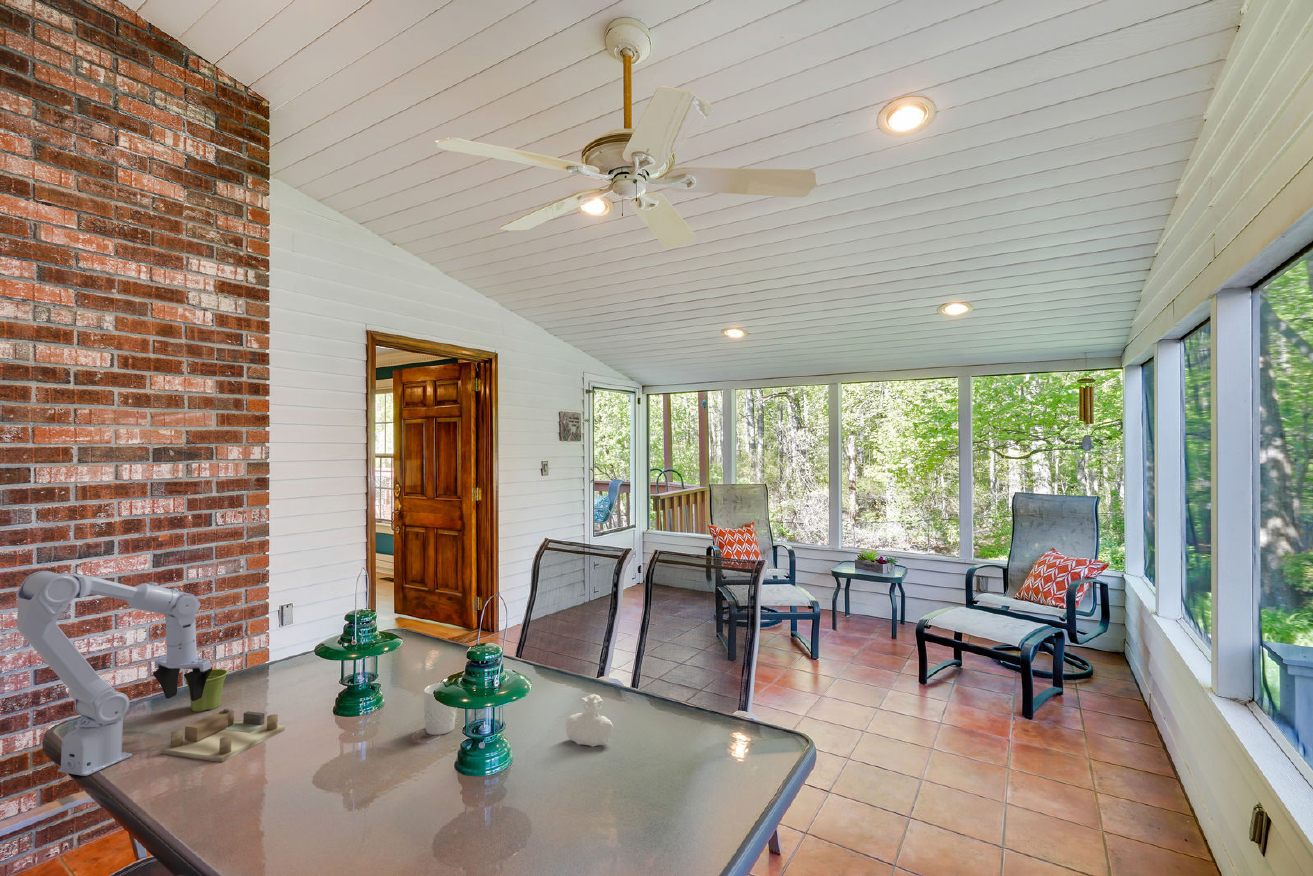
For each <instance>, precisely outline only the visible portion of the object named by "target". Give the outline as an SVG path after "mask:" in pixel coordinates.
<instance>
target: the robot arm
mask: <svg viewBox="0 0 1313 876" xmlns="http://www.w3.org/2000/svg"><path fill="white" fill-rule="evenodd" d="M89 595H94V596H101V597H106V598H111V599H116V600H117V599H118V600H122V601H123V600H124V601H126V603H127V604H128V606H129V607H130V608H131V609H135V610H138V611H139V610H140V611H143V612H149V613H155V614H158V615H163V616H165V641H166V642H165V643H166V645H165V646H166V656H161V657H159V658H157V659H154V668H155V669H157V670H155V671H153V672H152V676H154V677H153V678H155V679H156V680H157V681H158V683H159V685H160V687H161V689H162V691H163V694H164V697H165V699H170V698H171V699H172V698H173V697H175V696H177V695H178V680H179V674H180V671H181V669H184V670H191V671H188V672H187V673H184V674H183V677H184V680H185V679H186V680H187V682H188V685H189V688H188V691H189V690H190V695H189V698H190V697H191V700H192V701H196V700H198V699H200V698H202V694H203V690H204V686H205V683H206V680H207V678H208V676H209V674H210V673H211V671H212V669H213V667H212V666H211V664H212V663H211V660H207V659H204V658H202V657H201V654H200V653H198V651H197V649H198V648H197V628H196V627H197V626H196V614H197V612H198V611H199V610H200V607H201V602H200V601H199V600H198V597H196V595H195V594H193V593H189V592H184V591H179V588H175V587H171V588H166V587H163V586H159V583H157V582H154V581H153V582H152V581H149V582H148V583H145V582H144V583H139V584H137V585H135V586H131V585H127V584H122V583H120V582H115V581H111V580H107V579H104V578H99V577H95V576H91V575H85V574H75V573H69V572H67V573H66V572H59V573H58V572H54V571H50V570H40V571H36V572H33V573H30V574H29V575H28V576H27V577H25V578H24V580H23V581H22V583H21V585H20V586H19V588H18V589H17V592H16V593H15V596H16V601H17V614H16V615H17V618H16V619H17V620H16V628H17V630H18V631H19V633H20V634H21V635H22V636H23V637H24V639H25V640H26V641H27V642H28V643H29V645H31V647H32V648H33V649H34V650H35V652H36V653H37V654H38V655H39V656H40V658H41V659H43V661H44V662H45V663H46V664H47V665H48V666H49V668H50V669H51V670H52V672H54V673H55V674H56V676H57V677H58V678H59V679H60V681H61V682H62V683H63V684H64V685H65V686H66V687H67V688H68V690H69V691H70V697H71V698H72V700H73V701H74V710H75V712H76V713H77V714H78V715H80V718H79V721H78V726H77V727H76V728H75V729H73V730H72V731H69V732H68V733H66V734H65V735H64V736H63V738H62V741H61V750H60V751H61V752H60V753H61V756H60V768H59V769H57V772H58V773H63V774H68V775H69V774H70V775H75V776H76V775H77V776H81V777H87V776H89V775H91V774H93V773H97V772H98V771H100V770H103V769H106V768H108V767H110V766H112V765H114V764H116V763H119V762H121V761H124V760H126V759H127V758H128V759H129V758H130V757H132V756H133V753H130V752H124V751H122V750H123V734H124V733H123V730H124V725H123V724H124V716H125V714H126V713H127V712H128V710H129V707H130V699H129V697H128V695H127V694H125V693H123V692H121V691H117V690H116V689H115V688H114V687H113V686H111V685H110V684H109V683H108V682H106V681H105V680H104V679H103V678H101V677H100V675H99V674H98V673H97V672H96V670H95V669H94V668H93V667H92V665H91V664H90V663H89V661H87V660H86V658H85V657H84V656H83V654H82V653H81V651H79V650H78V648H76V646H75V645H74V644H73V642H72V641H71V640H70V639H69V638H68V636H67V635H66V634H65V633H64V632H63V631H62V630H63V629H61V628H60V627H59V625H58V624H57V621H58V619H59V617H60V615H61V613H62V612H63V611H64V610H65V609H66V608H67V607H68V606H69V604H70V603H71V602H73V600H75V598H78V599H82V598H85V597H86V596H89ZM187 682H186V683H187Z"/></svg>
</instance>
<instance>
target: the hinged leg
mask: <svg viewBox="0 0 1313 876" xmlns="http://www.w3.org/2000/svg"><path fill="white" fill-rule="evenodd" d="M234 720H235V710H234V709H230V708H224V709H223V710H221V711H218V712H216V713H213V714H211V715H208V716H206V717H203V718H202V719H199V720H197V721H195V722H192V723H190V724H188V725H185V727H184V738H185V740H192V741H198V740H200V739H203V738H205V737H207V736H209V735H211V734H214V733H216V732H218V731H220V730H222V729H224V728H227V727H228V726H230V725H232V724H233V723H234Z"/></svg>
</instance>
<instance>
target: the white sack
mask: <svg viewBox="0 0 1313 876" xmlns="http://www.w3.org/2000/svg"><path fill="white" fill-rule="evenodd" d="M580 701H581V704H582V708H583V709H584V713H582V712H578V713H575V714H571V715H570V716H569V717H567V719H566V722H565V733H566V737H567V739H568V740H570V741H572V742H575V743H576V744H577V745H582V746H583V745H585V746H590V747H593V748H594V747H596V746H597V747H598V746H604V745H607V744H608V742H609V740H610V738H611V735H612V733H613V730H614V725H613V723H612V721H611V720H610V719H608V717H606V716H604V715H600V712H599V709H600V710H601V709H602V705H603V704H604V702H605V701H604V700H603V699H602V698H601V696H600V695H598V694H596V693H593V694H589V695H587V696H585V697H580Z"/></svg>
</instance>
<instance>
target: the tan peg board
mask: <svg viewBox="0 0 1313 876" xmlns="http://www.w3.org/2000/svg"><path fill="white" fill-rule="evenodd" d="M242 717H243V719H242V720H240V719H234V723H233V724H232V725H230V726H228V727H227V728H224V729H222V730H220V731H218V732H216V733H214V734H211V735H209V736H207V737H205V738H203V739H200V740H198V741H192V740H185V737H183V736H184V731H183V730H182V729H177V730H174V731H171V732H170V740H169V741H170V744H169V745H167V746H164V747H162V748H160V754H161V755H170V756H176V757H177V756H178V757H184V758H190V759H196V760H197V759H198V760H204V761H205V760H206V761H212V762H219V763H223V762H225V761H227V760H229V759H231V758H234V757H236V756H237V755H239V754H241V753H243V752H245V751H247V750H249V749H251V748H253V747H255V746H257V745H259V744H260V743H263V742H264V741H266V740H268V739H270V738H272V737H274V736H276V735H278V734H279V733H281V732H284V731H285V730H286V725H283V724H278V717H279V715H278V714H277V713H274V714H270V715H267V716H266V723H265V713H264V712H257V711H256V712H255V711H245V712H243V715H242Z"/></svg>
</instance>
